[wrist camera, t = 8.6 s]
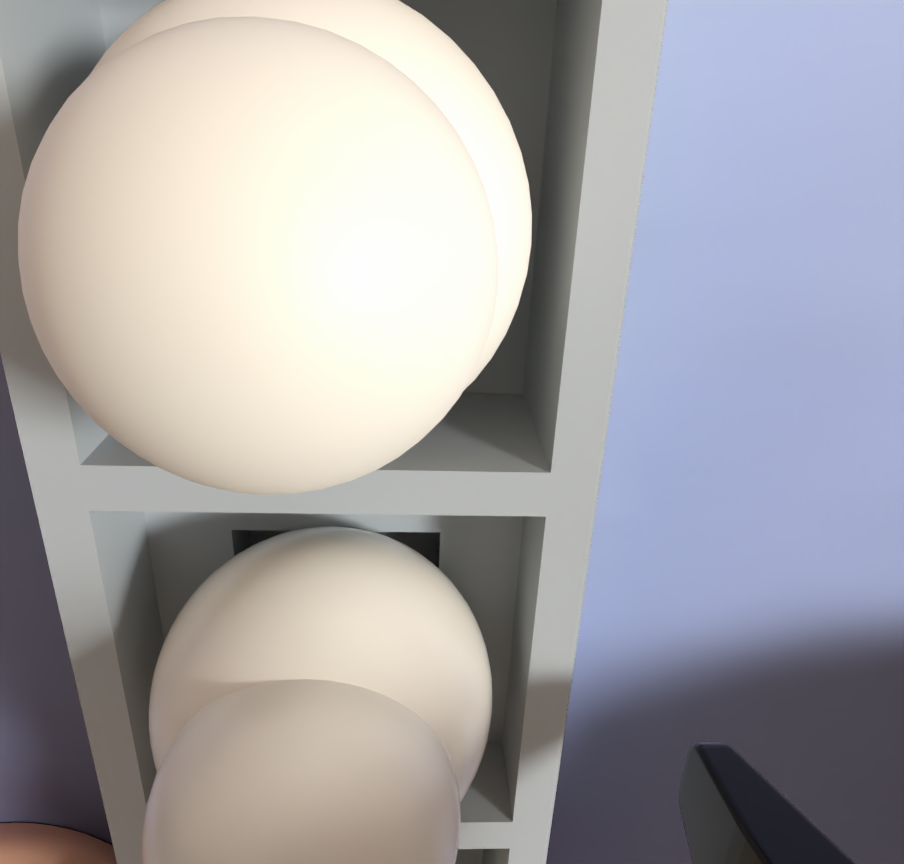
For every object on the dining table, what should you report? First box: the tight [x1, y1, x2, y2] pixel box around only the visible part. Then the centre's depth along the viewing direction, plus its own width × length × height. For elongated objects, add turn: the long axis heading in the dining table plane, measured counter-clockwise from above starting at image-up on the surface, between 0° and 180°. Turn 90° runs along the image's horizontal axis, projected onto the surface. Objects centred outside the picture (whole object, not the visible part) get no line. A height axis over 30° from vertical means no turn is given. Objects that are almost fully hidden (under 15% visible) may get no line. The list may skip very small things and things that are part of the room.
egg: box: [142, 526, 492, 864], centre depth 9 cm, size 4×4×6 cm
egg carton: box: [0, 0, 668, 864], centre depth 11 cm, size 7×25×8 cm, turn 178°
